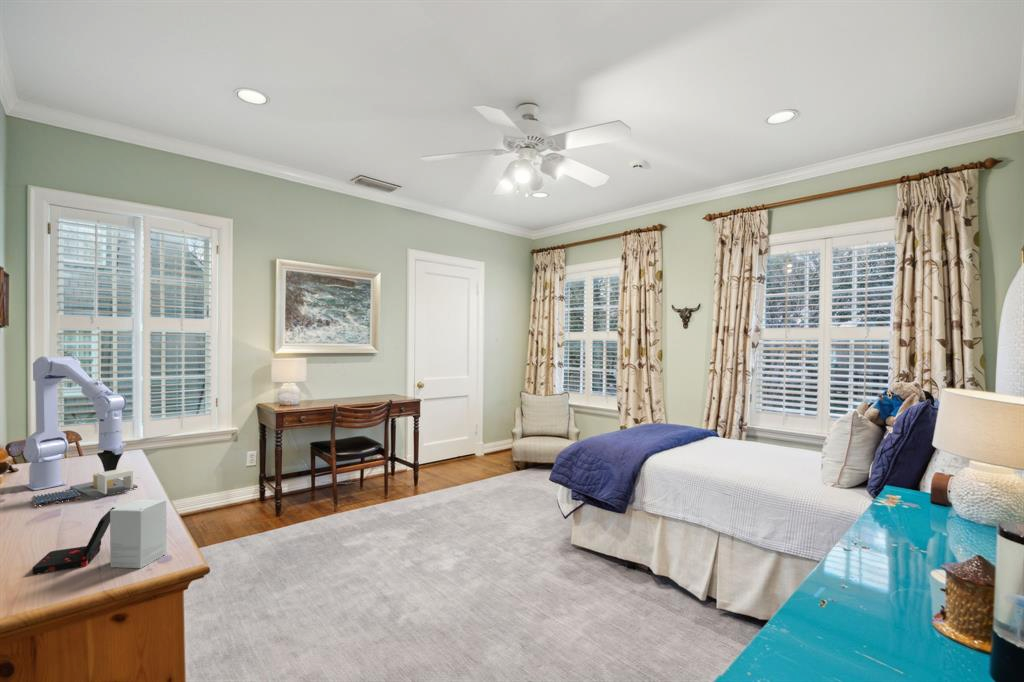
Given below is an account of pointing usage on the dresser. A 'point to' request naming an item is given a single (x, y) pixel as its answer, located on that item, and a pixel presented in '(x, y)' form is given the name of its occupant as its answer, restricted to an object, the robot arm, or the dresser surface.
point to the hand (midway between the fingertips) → (110, 473)
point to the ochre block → (109, 482)
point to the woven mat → (55, 498)
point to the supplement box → (137, 533)
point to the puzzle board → (92, 493)
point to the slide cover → (114, 474)
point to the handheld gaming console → (74, 552)
